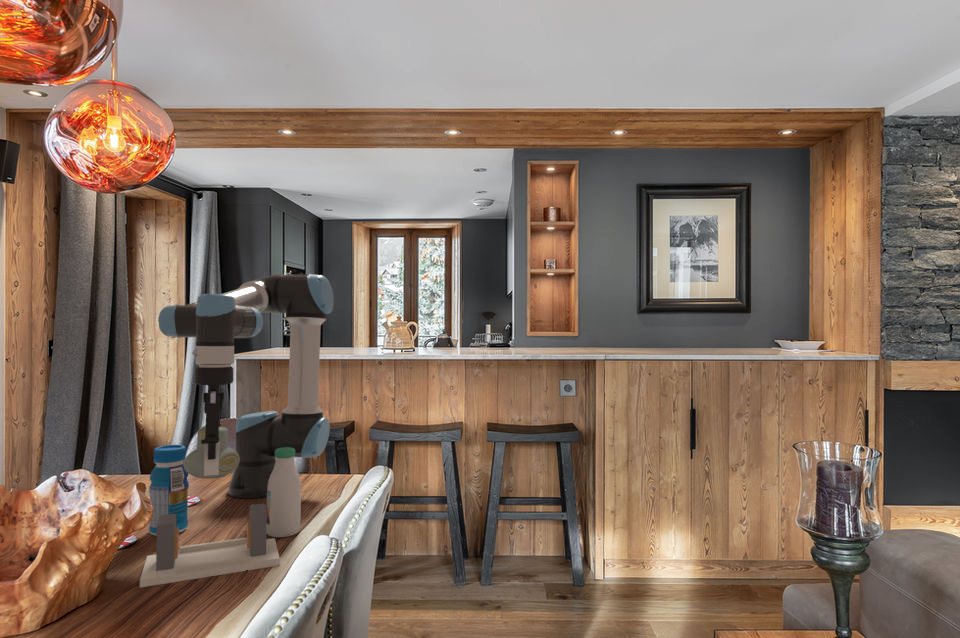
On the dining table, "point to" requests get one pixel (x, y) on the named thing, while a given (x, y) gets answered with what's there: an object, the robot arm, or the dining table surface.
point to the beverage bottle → (169, 486)
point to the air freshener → (226, 457)
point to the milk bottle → (283, 496)
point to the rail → (208, 552)
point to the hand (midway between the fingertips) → (212, 468)
